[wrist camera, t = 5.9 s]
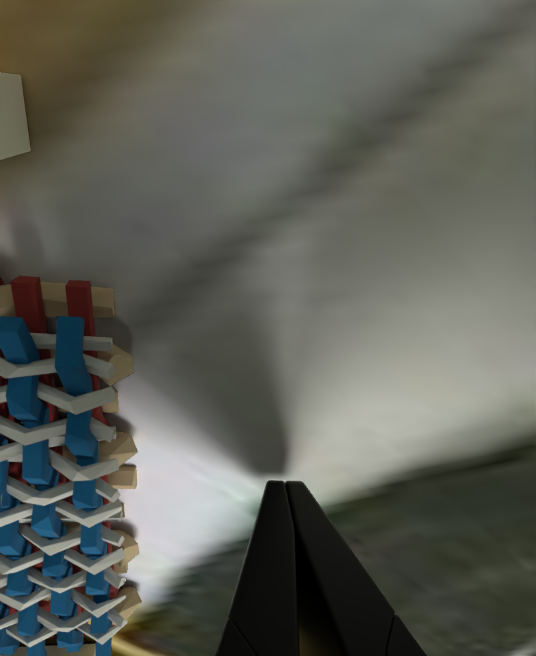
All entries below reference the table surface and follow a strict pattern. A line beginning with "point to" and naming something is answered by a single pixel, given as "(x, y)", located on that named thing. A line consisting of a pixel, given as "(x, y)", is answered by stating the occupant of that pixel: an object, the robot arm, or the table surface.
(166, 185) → the table surface
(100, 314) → the woven mat
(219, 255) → the table surface
